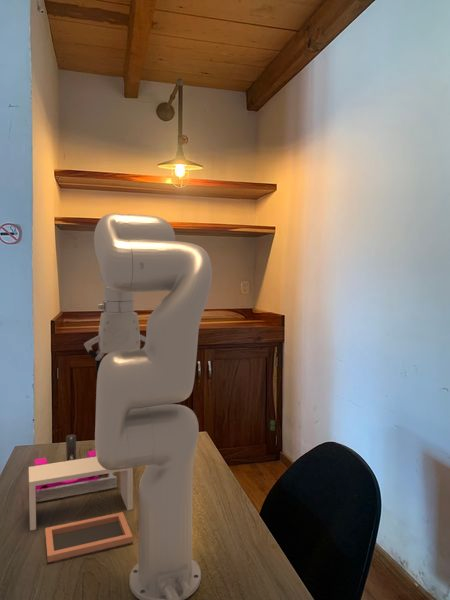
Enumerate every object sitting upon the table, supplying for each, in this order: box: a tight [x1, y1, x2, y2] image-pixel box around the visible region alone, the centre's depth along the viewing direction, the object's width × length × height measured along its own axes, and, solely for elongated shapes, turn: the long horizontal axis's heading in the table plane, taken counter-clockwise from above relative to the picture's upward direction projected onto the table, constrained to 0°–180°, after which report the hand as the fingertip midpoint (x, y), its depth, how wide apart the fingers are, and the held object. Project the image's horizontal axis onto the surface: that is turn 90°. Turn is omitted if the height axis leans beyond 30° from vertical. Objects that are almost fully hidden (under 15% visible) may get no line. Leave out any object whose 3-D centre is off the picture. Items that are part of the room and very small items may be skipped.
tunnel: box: [28, 457, 134, 531], centre depth 103 cm, size 8×22×10 cm, turn 114°
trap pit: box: [44, 511, 134, 565], centre depth 92 cm, size 10×16×2 cm, turn 114°
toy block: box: [34, 449, 99, 498], centre depth 114 cm, size 15×6×8 cm, turn 114°
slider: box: [36, 434, 118, 503], centre depth 118 cm, size 18×19×8 cm
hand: (119, 373), depth 117 cm, fingers open, 9 cm apart
